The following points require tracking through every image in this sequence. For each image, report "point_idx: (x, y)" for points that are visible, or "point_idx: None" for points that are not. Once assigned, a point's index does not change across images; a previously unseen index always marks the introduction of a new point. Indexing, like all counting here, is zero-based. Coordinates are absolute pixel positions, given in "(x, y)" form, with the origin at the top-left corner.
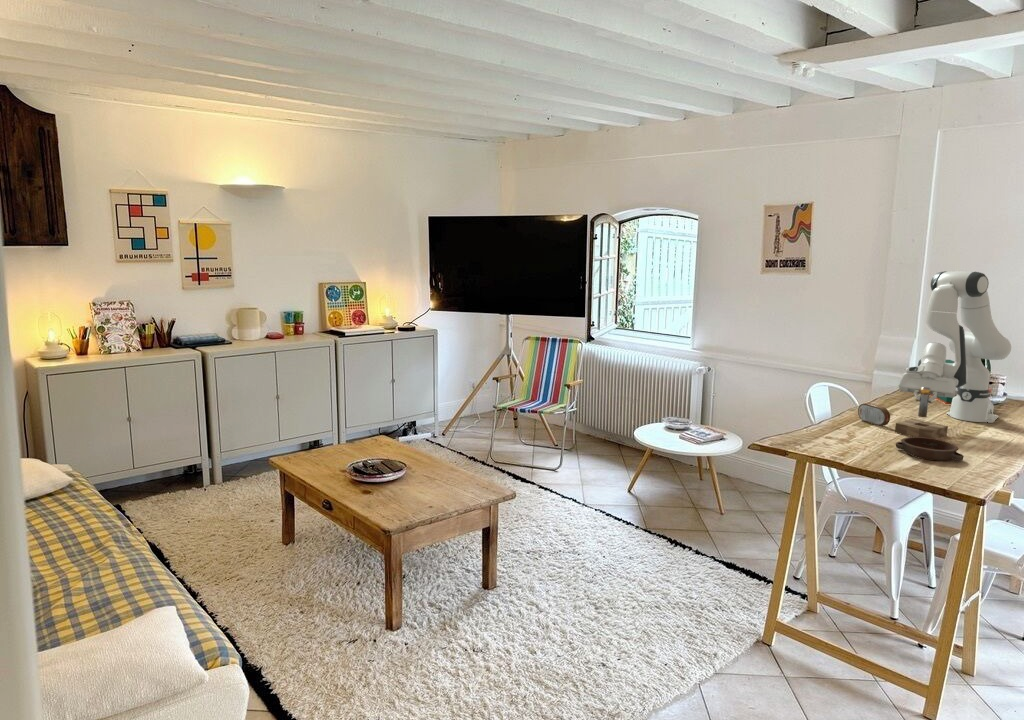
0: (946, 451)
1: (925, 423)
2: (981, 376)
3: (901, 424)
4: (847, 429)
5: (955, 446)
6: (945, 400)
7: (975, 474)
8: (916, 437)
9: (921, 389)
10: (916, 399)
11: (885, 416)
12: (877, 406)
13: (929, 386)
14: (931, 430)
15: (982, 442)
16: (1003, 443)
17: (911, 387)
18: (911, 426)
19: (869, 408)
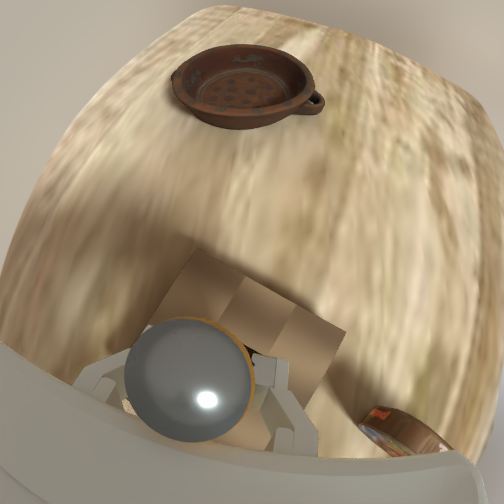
0: (214, 48)
1: None
2: None
3: (322, 319)
4: (463, 284)
5: (179, 76)
6: None
7: (179, 46)
8: (273, 105)
9: (250, 360)
10: (281, 359)
11: (389, 408)
12: (435, 451)
13: (123, 468)
14: (196, 258)
15: (42, 324)
16: (3, 335)
17: (365, 464)
18: (279, 297)
19: None
